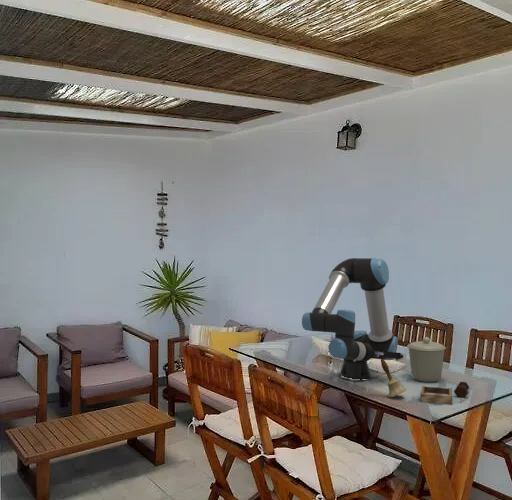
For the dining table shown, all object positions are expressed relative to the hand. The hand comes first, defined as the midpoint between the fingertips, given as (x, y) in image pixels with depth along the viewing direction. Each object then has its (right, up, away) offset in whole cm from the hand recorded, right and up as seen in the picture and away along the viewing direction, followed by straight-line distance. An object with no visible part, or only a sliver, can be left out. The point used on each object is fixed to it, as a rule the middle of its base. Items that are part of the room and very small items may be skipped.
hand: (392, 356), depth 228 cm
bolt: (+34, -19, +8) cm, 39 cm away
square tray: (+19, -19, 0) cm, 27 cm away
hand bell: (+3, -17, +2) cm, 18 cm away
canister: (+25, -18, +30) cm, 43 cm away
